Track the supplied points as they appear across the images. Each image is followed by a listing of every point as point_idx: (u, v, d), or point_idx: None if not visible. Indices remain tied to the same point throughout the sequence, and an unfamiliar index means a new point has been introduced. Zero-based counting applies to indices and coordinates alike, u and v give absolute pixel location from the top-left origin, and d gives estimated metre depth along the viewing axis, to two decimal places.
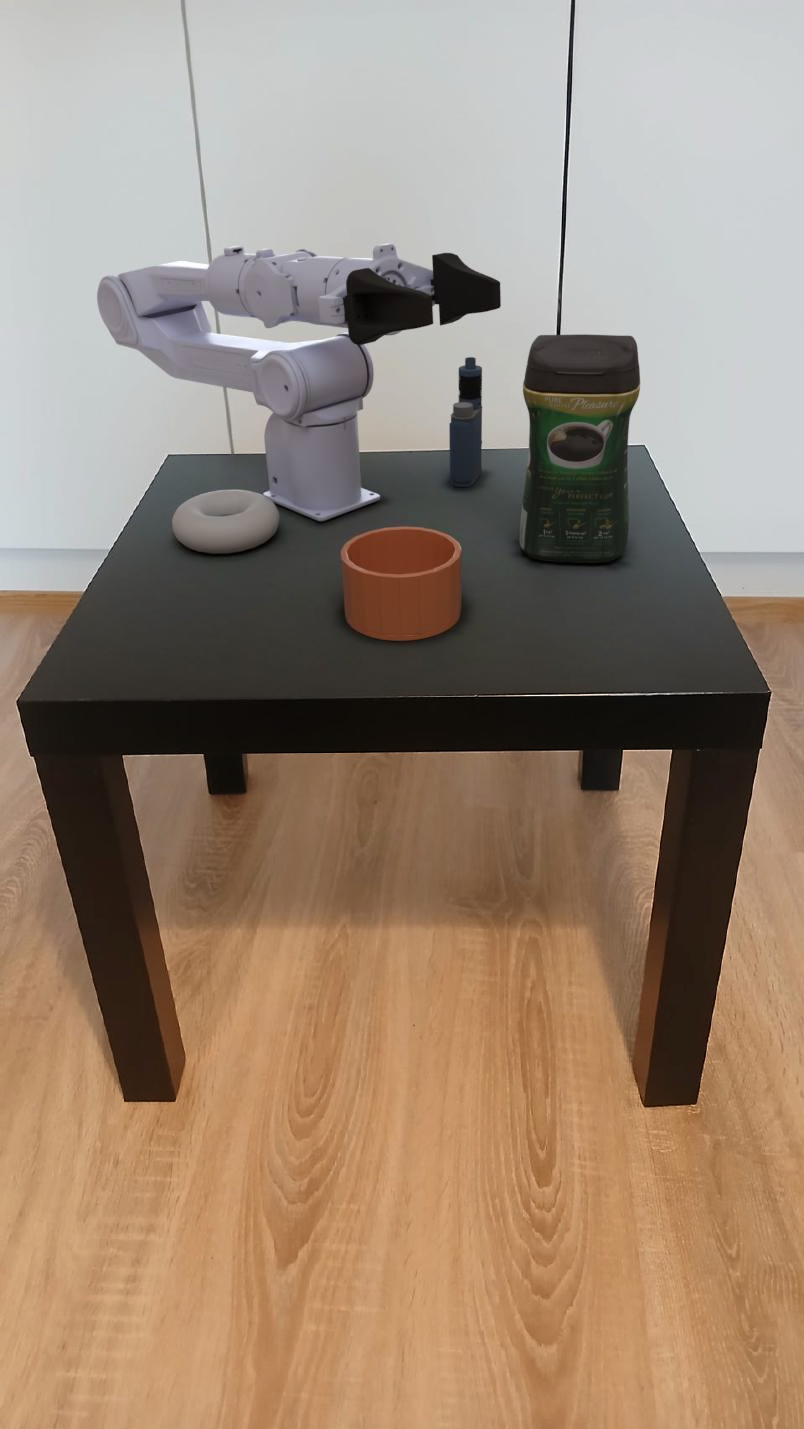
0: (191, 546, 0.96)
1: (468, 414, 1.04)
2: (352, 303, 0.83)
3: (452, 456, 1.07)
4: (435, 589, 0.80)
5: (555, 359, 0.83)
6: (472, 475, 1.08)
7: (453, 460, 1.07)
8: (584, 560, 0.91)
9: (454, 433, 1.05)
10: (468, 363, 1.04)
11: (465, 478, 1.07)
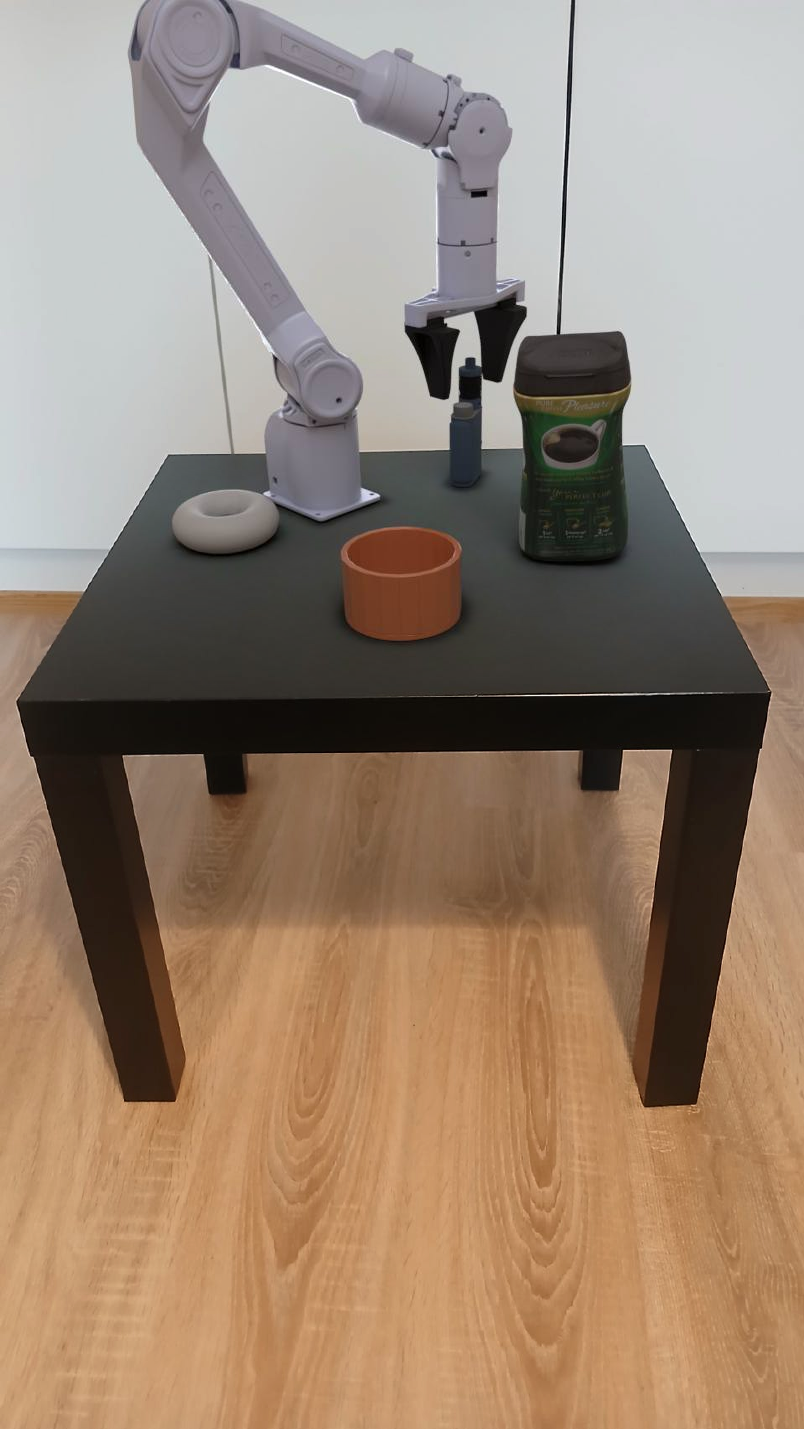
0: (191, 546, 0.96)
1: (468, 414, 1.04)
2: None
3: (452, 456, 1.07)
4: (435, 589, 0.80)
5: (544, 362, 0.82)
6: (472, 475, 1.08)
7: (453, 460, 1.07)
8: (586, 558, 0.91)
9: (454, 433, 1.05)
10: (468, 363, 1.04)
11: (465, 478, 1.07)
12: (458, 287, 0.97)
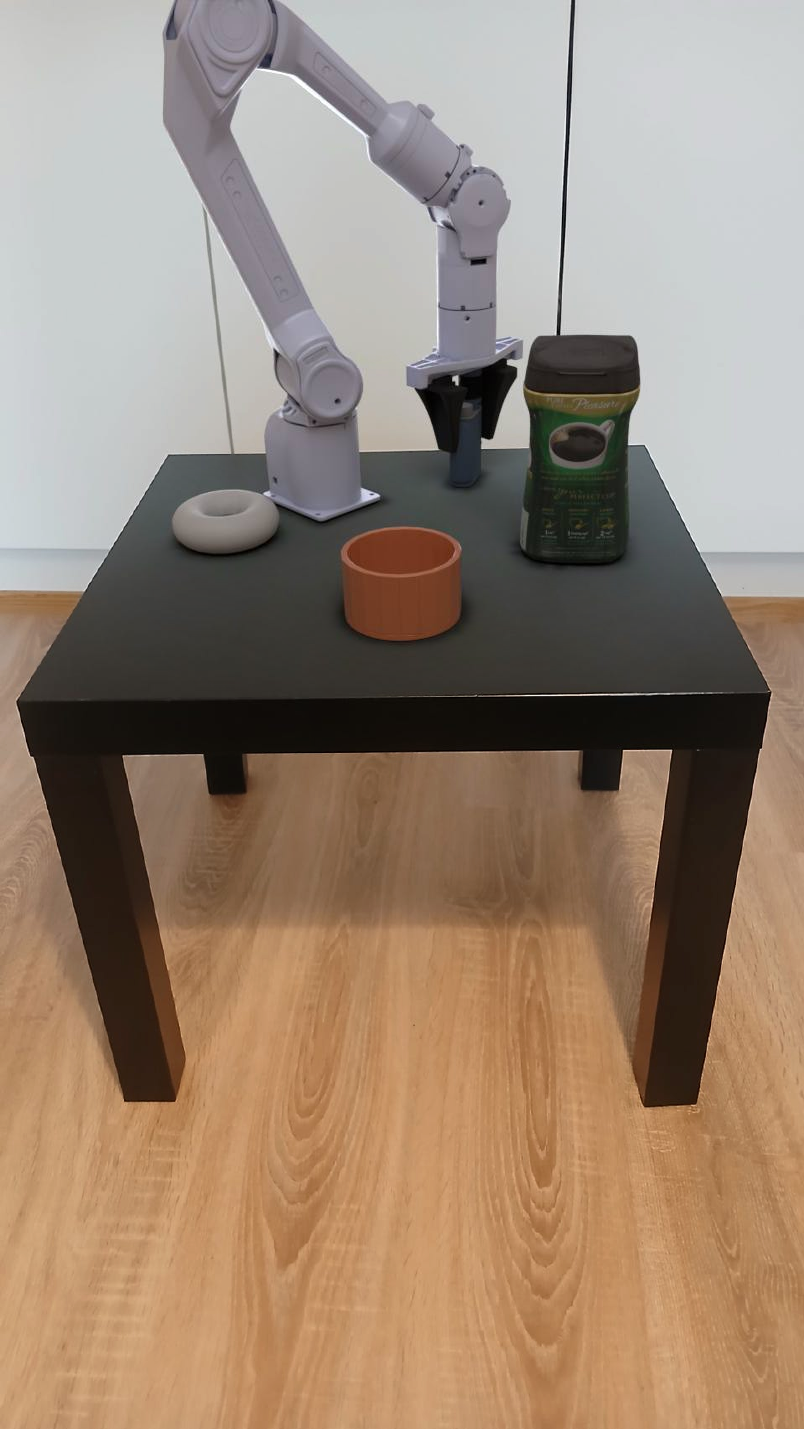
0: (191, 546, 0.96)
1: (468, 414, 1.04)
2: None
3: (452, 456, 1.07)
4: (435, 589, 0.80)
5: (556, 359, 0.83)
6: (472, 475, 1.08)
7: (453, 460, 1.07)
8: (586, 560, 0.91)
9: None
10: None
11: (465, 478, 1.07)
12: (458, 349, 1.00)
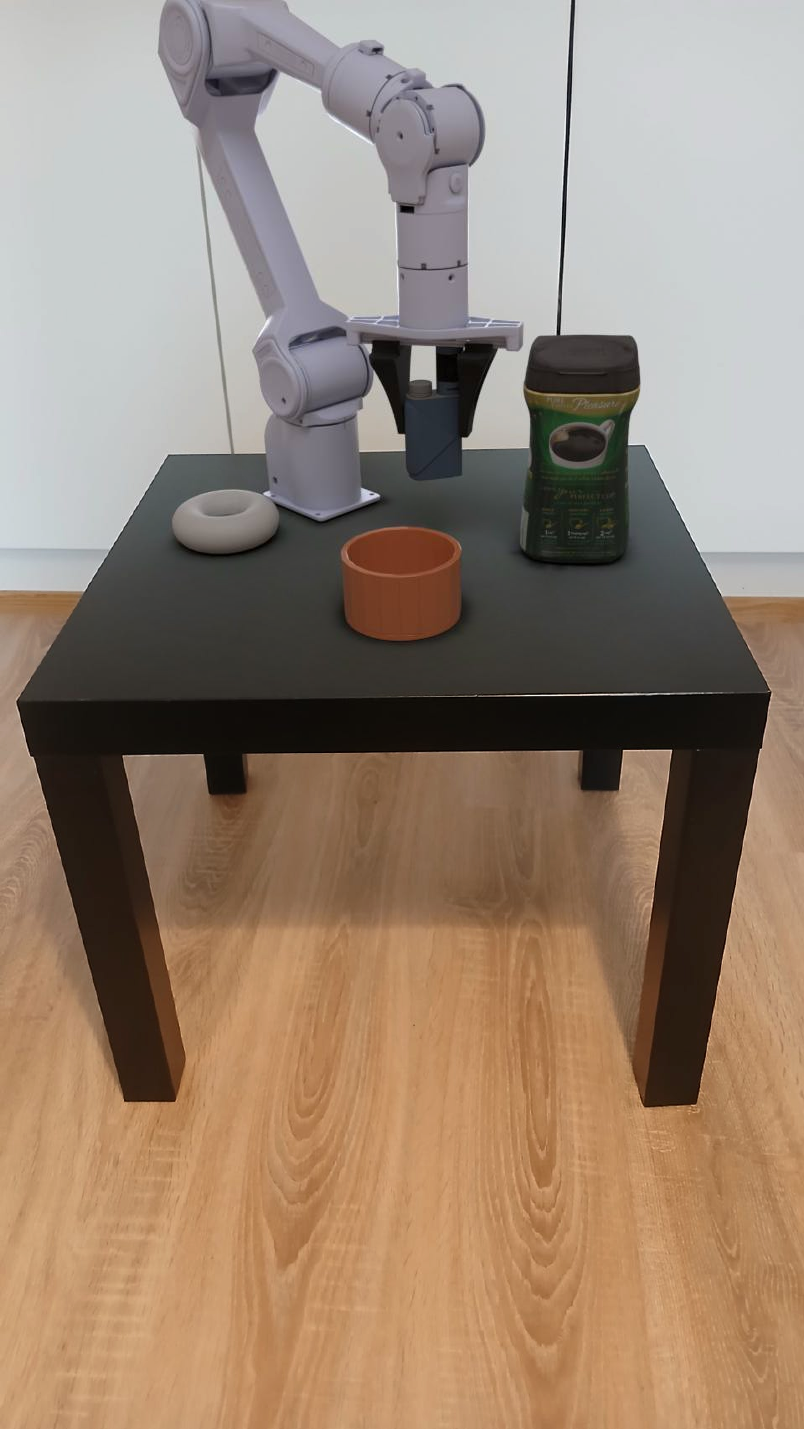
0: (191, 546, 0.96)
1: (415, 394, 0.88)
2: (492, 356, 0.87)
3: None
4: (435, 589, 0.80)
5: (556, 359, 0.83)
6: (417, 468, 0.91)
7: None
8: (586, 560, 0.91)
9: None
10: None
11: (409, 468, 0.92)
12: (399, 312, 0.85)
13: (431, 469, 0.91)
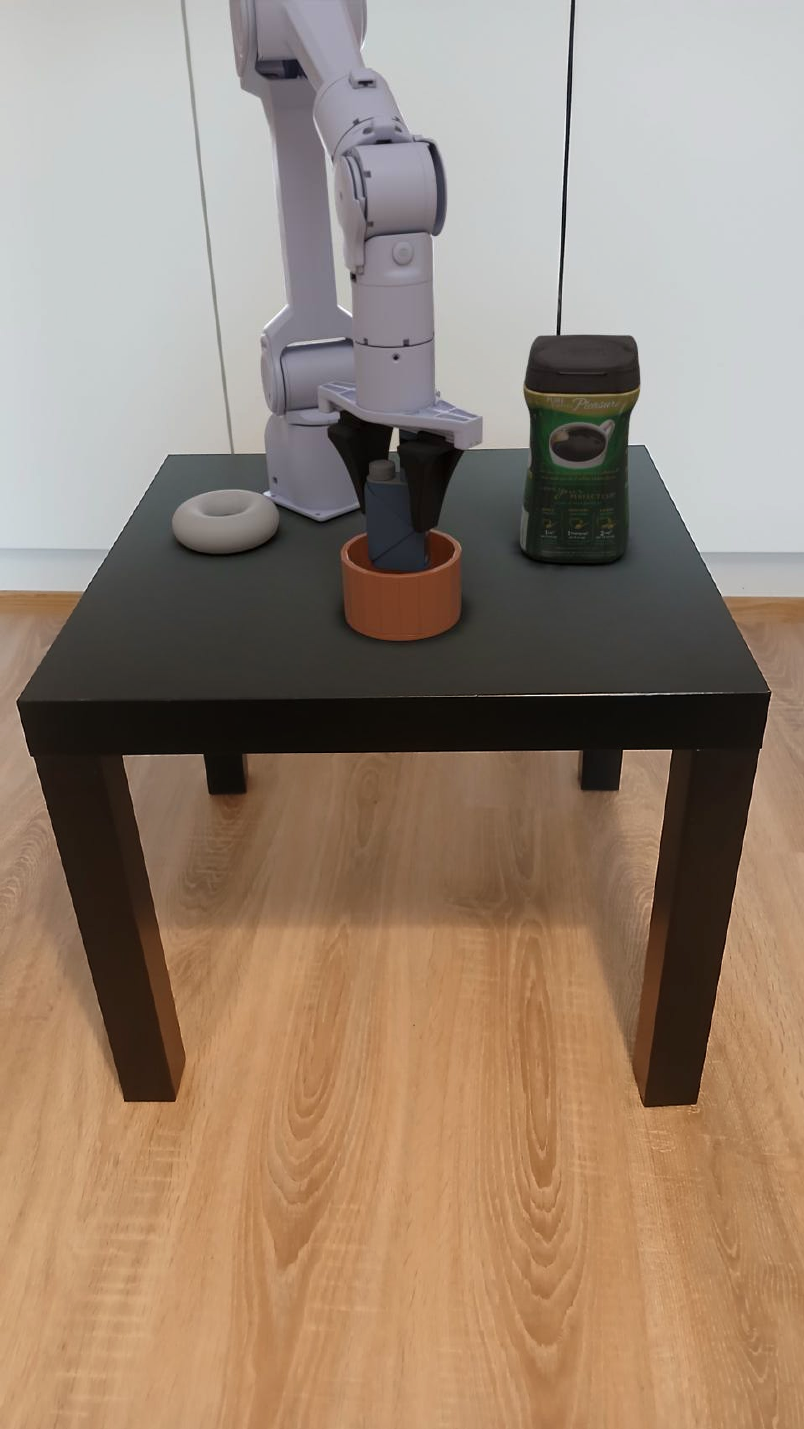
0: (191, 546, 0.96)
1: (372, 476, 0.79)
2: (451, 449, 0.75)
3: None
4: (435, 589, 0.80)
5: (556, 359, 0.83)
6: (373, 555, 0.82)
7: None
8: (586, 560, 0.91)
9: None
10: None
11: (368, 553, 0.83)
12: None
13: (388, 558, 0.82)
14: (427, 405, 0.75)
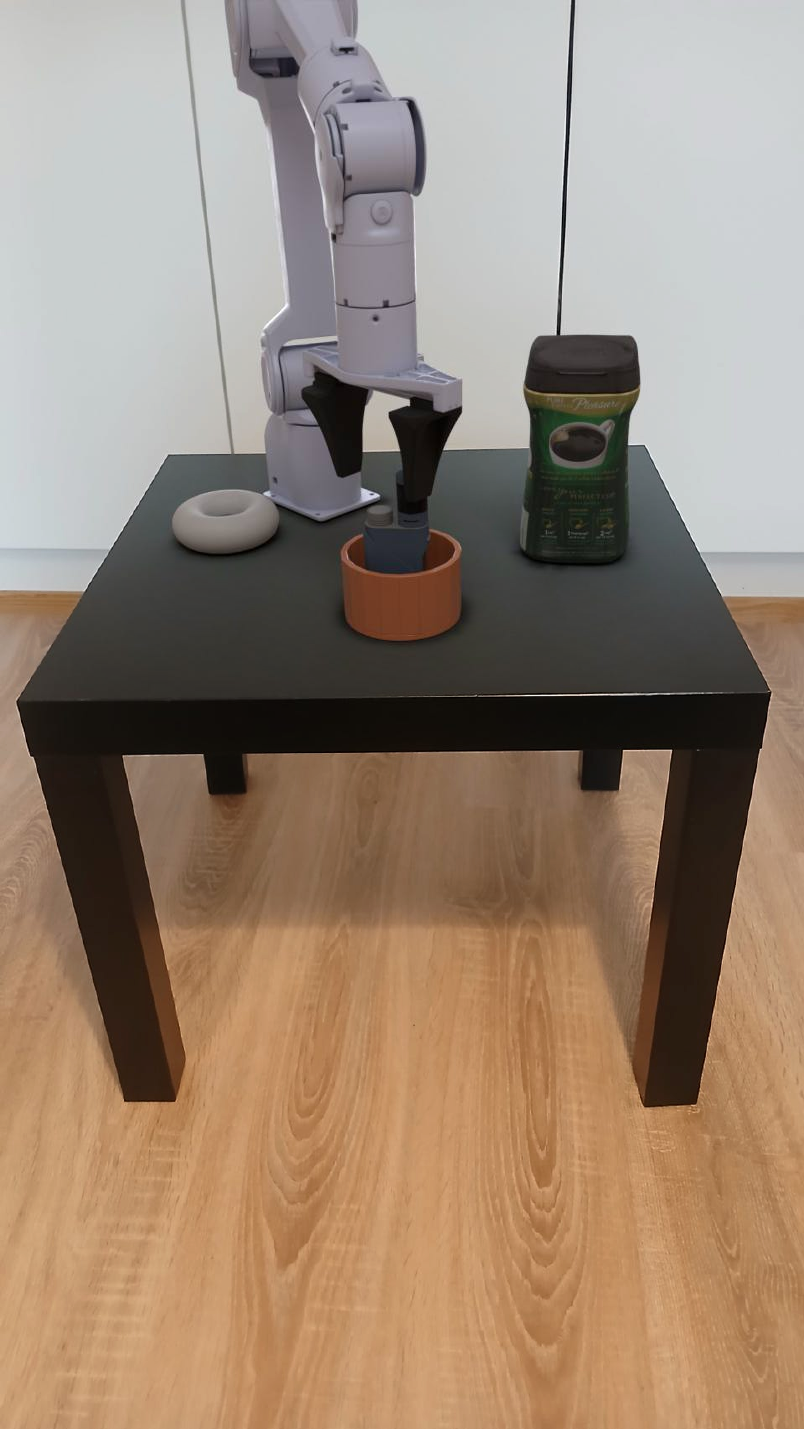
0: (191, 546, 0.96)
1: (370, 521, 0.81)
2: (444, 415, 0.74)
3: None
4: (435, 589, 0.80)
5: (556, 359, 0.83)
6: None
7: None
8: (586, 560, 0.91)
9: None
10: None
11: None
12: None
13: None
14: (408, 368, 0.74)
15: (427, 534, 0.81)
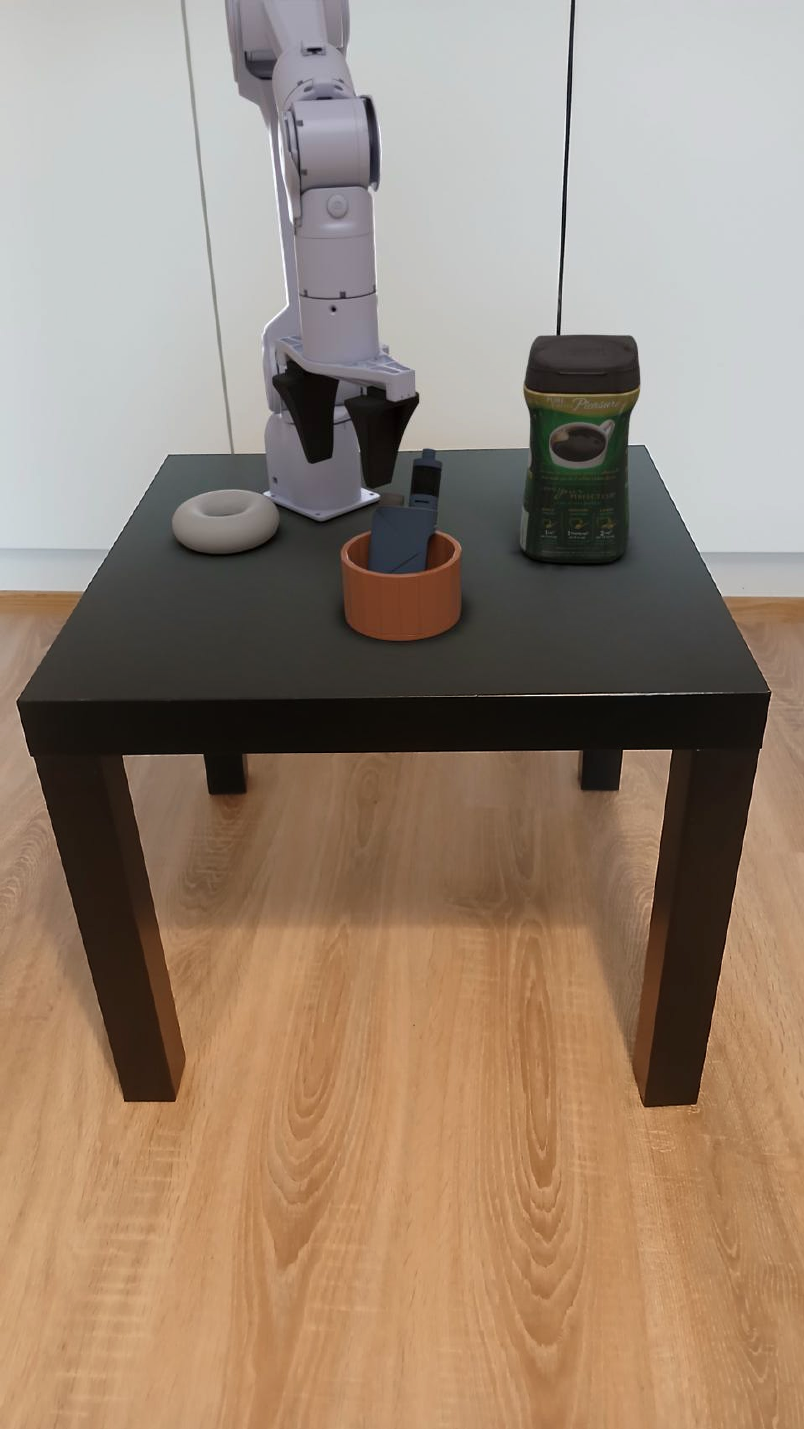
0: (191, 546, 0.96)
1: (382, 502, 0.84)
2: (399, 405, 0.76)
3: None
4: (435, 589, 0.80)
5: (556, 359, 0.83)
6: None
7: None
8: (586, 560, 0.91)
9: None
10: None
11: None
12: None
13: None
14: (367, 358, 0.77)
15: (435, 521, 0.84)
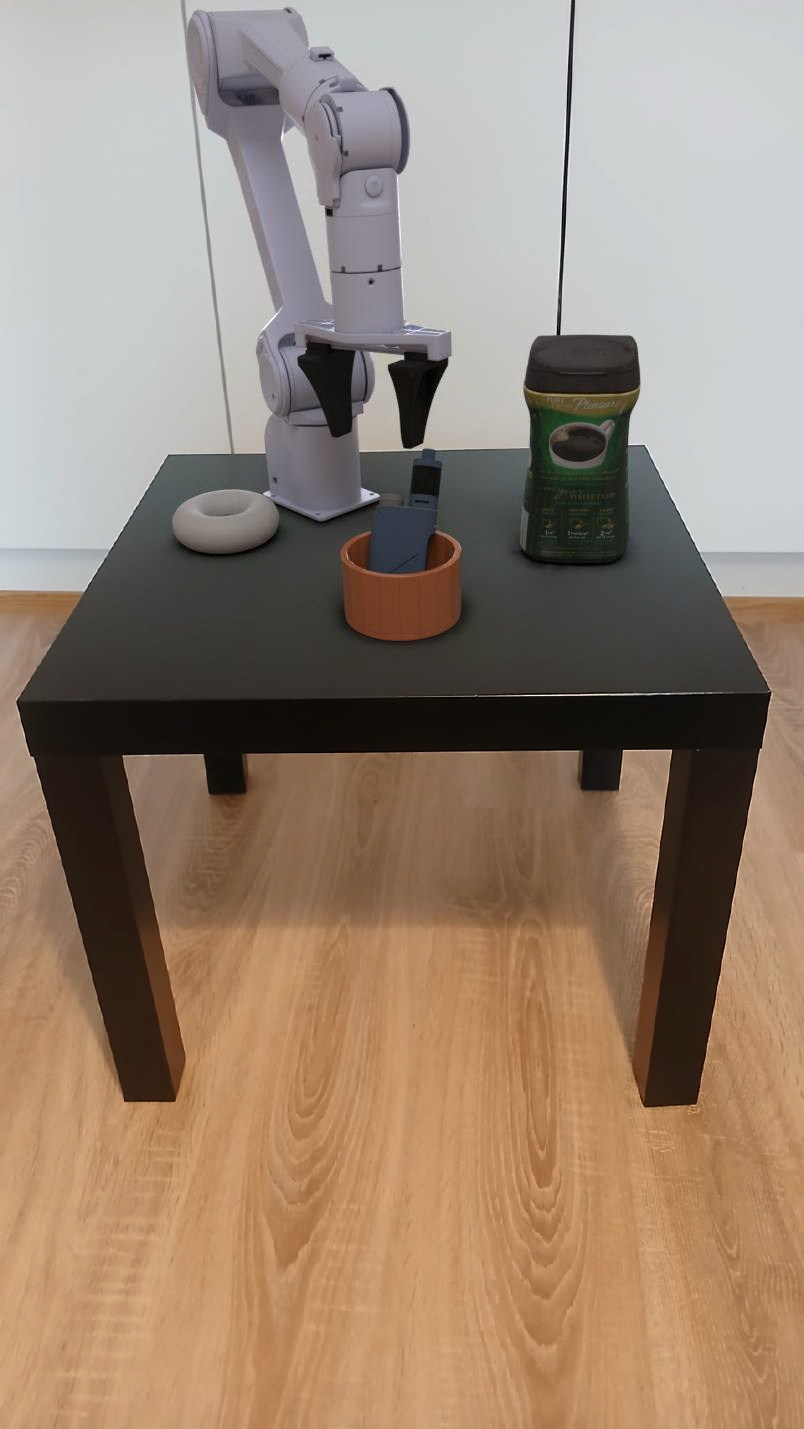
0: (191, 546, 0.96)
1: (382, 502, 0.84)
2: (435, 366, 0.84)
3: None
4: (435, 589, 0.80)
5: (556, 359, 0.83)
6: None
7: None
8: (586, 560, 0.91)
9: None
10: None
11: None
12: None
13: None
14: (399, 327, 0.84)
15: (435, 521, 0.84)
